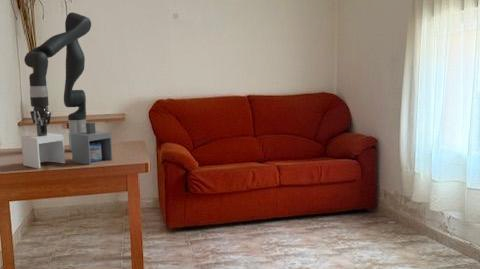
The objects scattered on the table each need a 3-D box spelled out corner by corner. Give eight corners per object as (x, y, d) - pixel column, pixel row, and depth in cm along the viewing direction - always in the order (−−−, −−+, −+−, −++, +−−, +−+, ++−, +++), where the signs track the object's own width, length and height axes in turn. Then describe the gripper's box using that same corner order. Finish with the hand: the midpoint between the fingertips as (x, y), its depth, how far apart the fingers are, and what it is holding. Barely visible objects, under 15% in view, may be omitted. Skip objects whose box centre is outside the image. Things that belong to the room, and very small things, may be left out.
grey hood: (23, 165, 217) (20, 125, 214) (49, 160, 227) (46, 122, 225) (39, 168, 209) (35, 127, 206) (65, 163, 220) (62, 124, 217)
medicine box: (85, 162, 222) (83, 144, 221) (83, 161, 226) (82, 143, 225) (102, 160, 225) (100, 143, 224) (100, 159, 229) (99, 142, 228)
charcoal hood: (72, 161, 224) (70, 123, 222) (95, 157, 235) (93, 120, 232) (89, 164, 216) (87, 125, 214) (112, 160, 227) (110, 122, 224)
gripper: (23, 96, 215) (26, 133, 217) (40, 96, 207) (43, 135, 209) (38, 95, 221) (41, 131, 223) (55, 95, 213) (58, 133, 215)
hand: (42, 132), depth 216 cm, fingers open, 3 cm apart
